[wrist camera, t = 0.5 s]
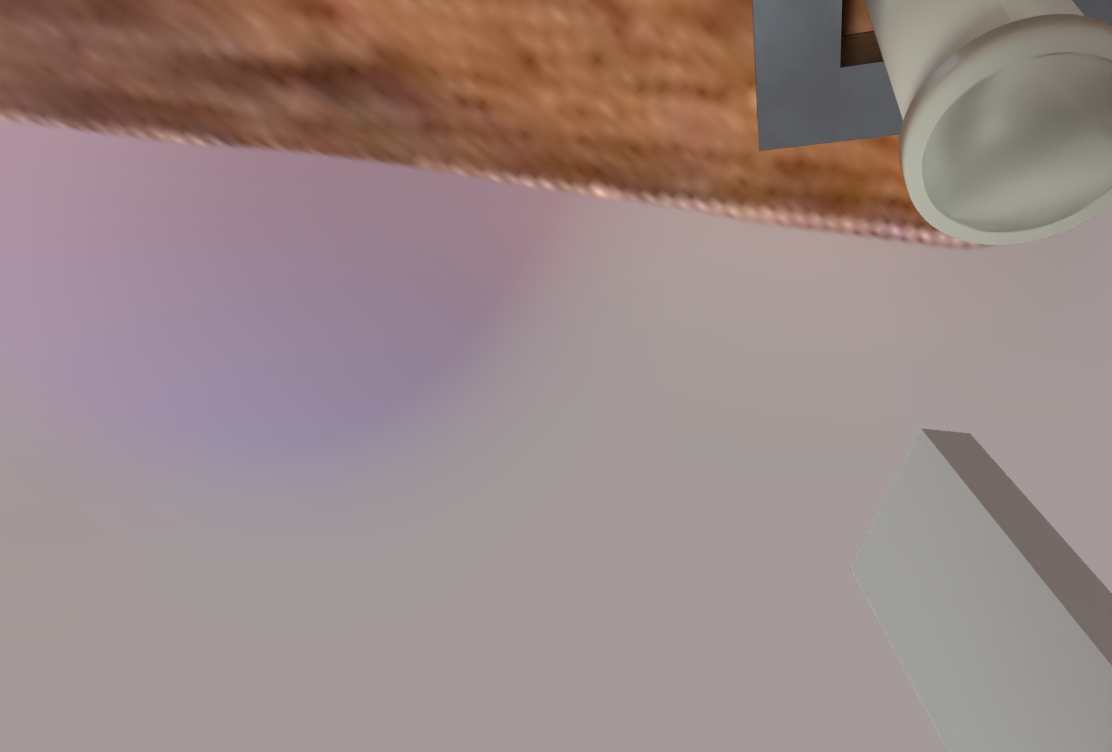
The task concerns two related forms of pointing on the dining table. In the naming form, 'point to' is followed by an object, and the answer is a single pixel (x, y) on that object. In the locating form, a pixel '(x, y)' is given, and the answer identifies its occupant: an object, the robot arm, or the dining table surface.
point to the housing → (827, 75)
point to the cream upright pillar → (1000, 113)
